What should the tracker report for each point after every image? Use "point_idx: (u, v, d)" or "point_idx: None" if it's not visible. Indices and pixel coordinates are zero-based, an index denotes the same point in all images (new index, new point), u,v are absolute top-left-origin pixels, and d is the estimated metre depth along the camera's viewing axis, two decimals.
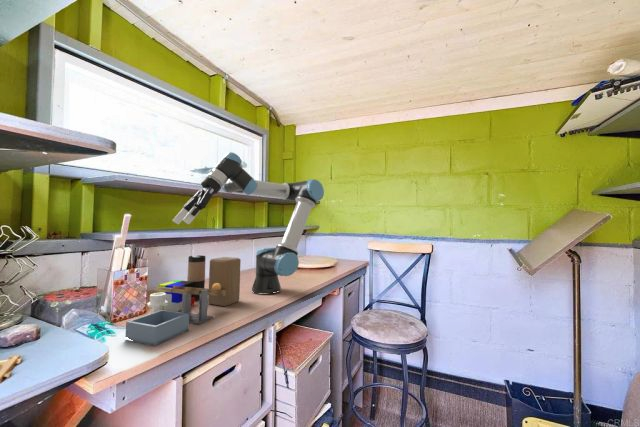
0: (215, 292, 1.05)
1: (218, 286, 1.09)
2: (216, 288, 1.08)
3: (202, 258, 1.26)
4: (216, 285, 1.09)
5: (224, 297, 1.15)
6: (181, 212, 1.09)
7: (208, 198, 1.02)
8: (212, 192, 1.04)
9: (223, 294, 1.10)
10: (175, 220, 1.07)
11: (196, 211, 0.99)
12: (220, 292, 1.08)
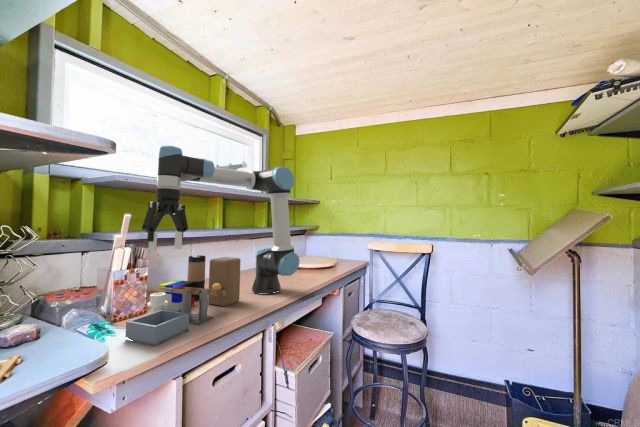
0: (215, 292, 1.05)
1: (218, 286, 1.09)
2: (216, 288, 1.08)
3: (202, 258, 1.26)
4: (216, 285, 1.09)
5: (224, 297, 1.15)
6: (176, 236, 1.01)
7: (149, 215, 0.90)
8: (152, 205, 0.90)
9: (223, 294, 1.10)
10: (176, 247, 1.01)
11: (149, 236, 0.90)
12: (220, 292, 1.08)
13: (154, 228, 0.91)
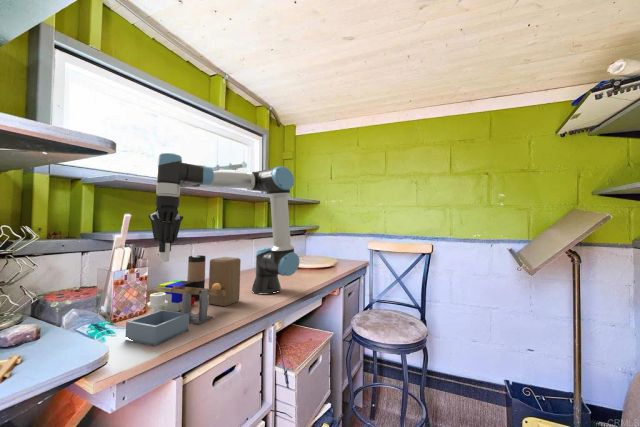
0: (215, 292, 1.05)
1: (218, 286, 1.09)
2: (216, 288, 1.08)
3: (202, 258, 1.26)
4: (216, 285, 1.09)
5: (224, 297, 1.15)
6: None
7: (155, 228, 0.92)
8: (153, 218, 0.91)
9: (223, 294, 1.10)
10: None
11: (160, 247, 0.94)
12: (220, 292, 1.08)
13: (165, 239, 0.95)
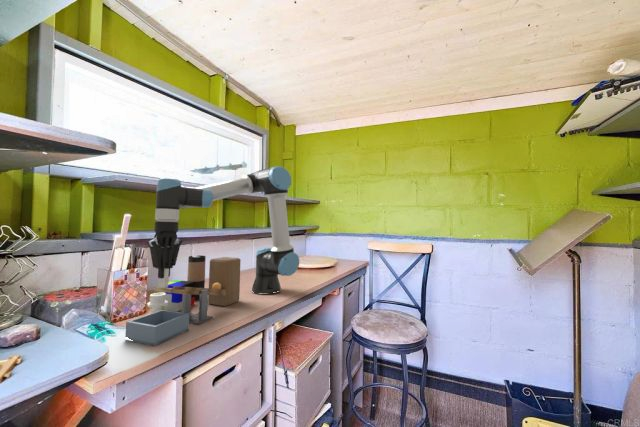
0: (215, 292, 1.05)
1: (218, 286, 1.09)
2: (216, 288, 1.08)
3: (202, 258, 1.26)
4: (216, 285, 1.09)
5: (224, 297, 1.15)
6: None
7: (154, 255, 0.91)
8: (152, 245, 0.91)
9: (223, 294, 1.10)
10: None
11: (159, 273, 0.94)
12: (220, 292, 1.08)
13: (163, 265, 0.94)
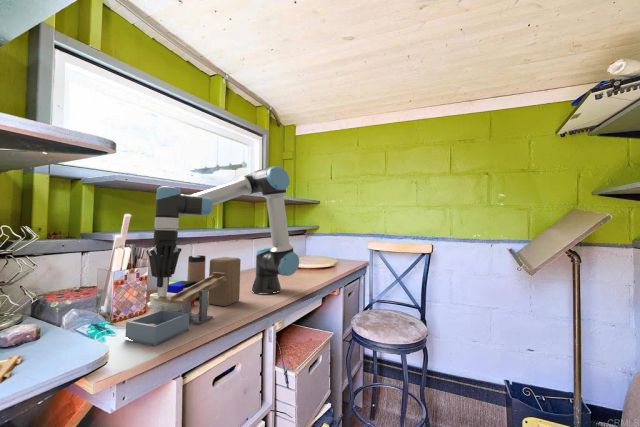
0: (215, 283, 1.05)
1: None
2: None
3: (202, 258, 1.26)
4: (154, 324, 0.82)
5: (224, 297, 1.15)
6: None
7: (153, 264, 0.91)
8: (151, 254, 0.90)
9: (224, 280, 1.10)
10: None
11: (158, 282, 0.93)
12: (220, 280, 1.08)
13: (163, 274, 0.94)
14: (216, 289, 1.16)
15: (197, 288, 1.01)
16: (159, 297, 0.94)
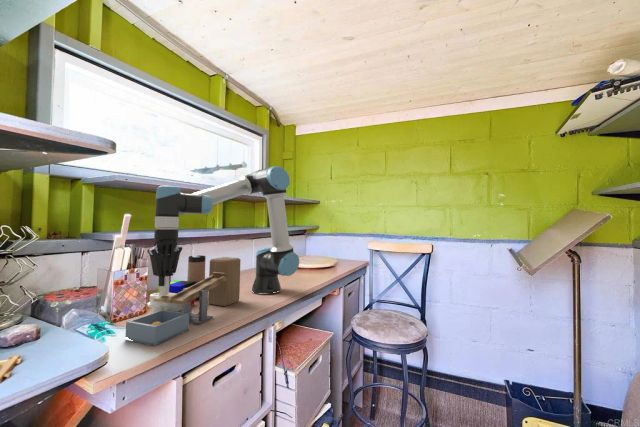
0: (215, 283, 1.05)
1: None
2: None
3: (202, 258, 1.26)
4: None
5: (224, 297, 1.15)
6: None
7: (155, 263, 0.91)
8: (152, 253, 0.91)
9: (224, 280, 1.10)
10: None
11: (160, 281, 0.94)
12: (220, 280, 1.08)
13: (164, 273, 0.94)
14: (216, 289, 1.16)
15: (197, 288, 1.01)
16: (159, 297, 0.94)
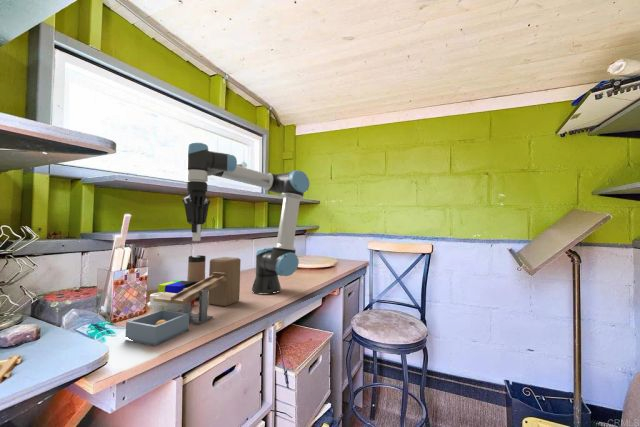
0: (215, 283, 1.05)
1: None
2: None
3: (202, 258, 1.26)
4: None
5: (224, 297, 1.15)
6: None
7: (189, 211, 1.02)
8: (187, 202, 1.01)
9: (224, 280, 1.10)
10: None
11: (193, 228, 1.05)
12: (220, 280, 1.08)
13: (196, 221, 1.05)
14: (216, 289, 1.16)
15: (197, 288, 1.01)
16: (159, 297, 0.94)
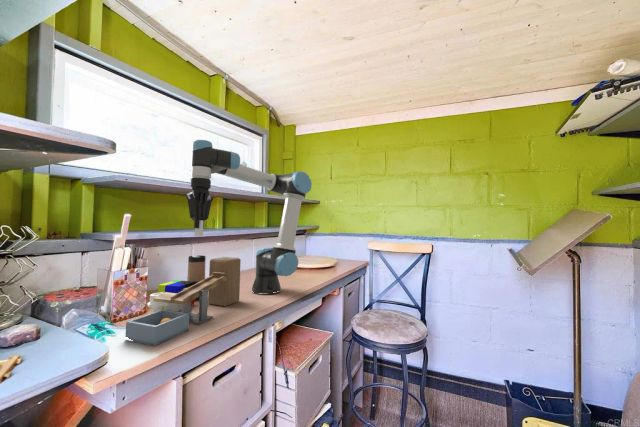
0: (215, 283, 1.05)
1: None
2: None
3: (202, 258, 1.26)
4: None
5: (224, 297, 1.15)
6: None
7: (192, 206, 1.03)
8: (190, 197, 1.02)
9: (224, 280, 1.10)
10: None
11: (195, 223, 1.06)
12: (220, 280, 1.08)
13: (199, 217, 1.06)
14: (216, 289, 1.16)
15: (197, 288, 1.01)
16: (159, 297, 0.94)
